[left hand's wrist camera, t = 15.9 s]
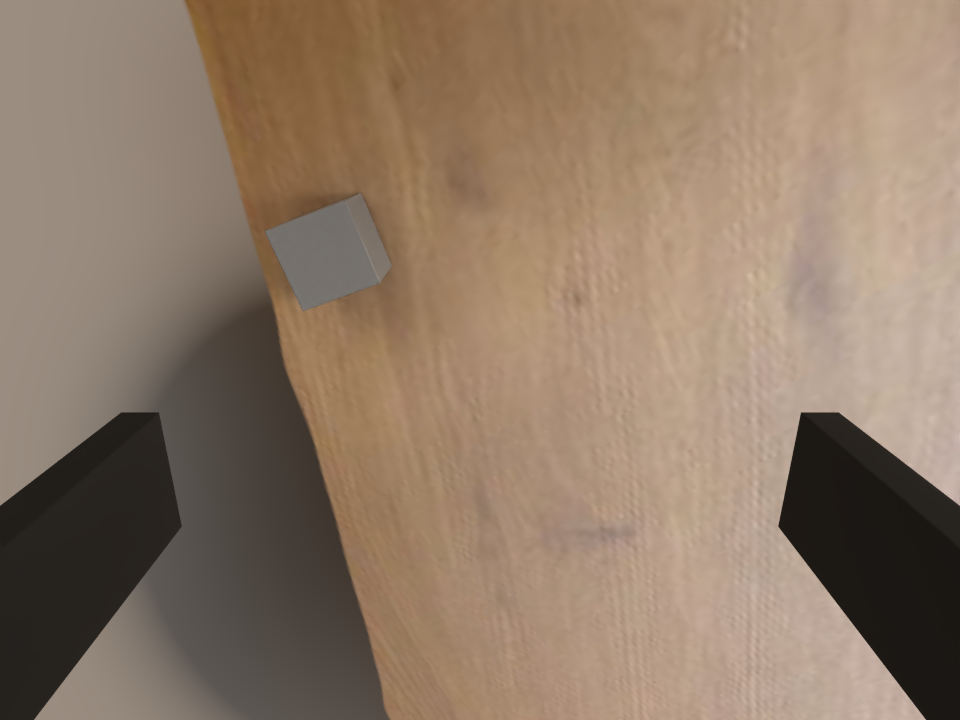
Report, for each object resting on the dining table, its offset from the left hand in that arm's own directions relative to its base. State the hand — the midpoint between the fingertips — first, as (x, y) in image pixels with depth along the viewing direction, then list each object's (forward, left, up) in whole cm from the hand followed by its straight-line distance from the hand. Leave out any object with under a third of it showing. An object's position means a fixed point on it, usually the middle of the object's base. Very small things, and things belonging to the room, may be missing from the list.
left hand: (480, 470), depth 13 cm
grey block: (0, -9, -29) cm, 30 cm away
